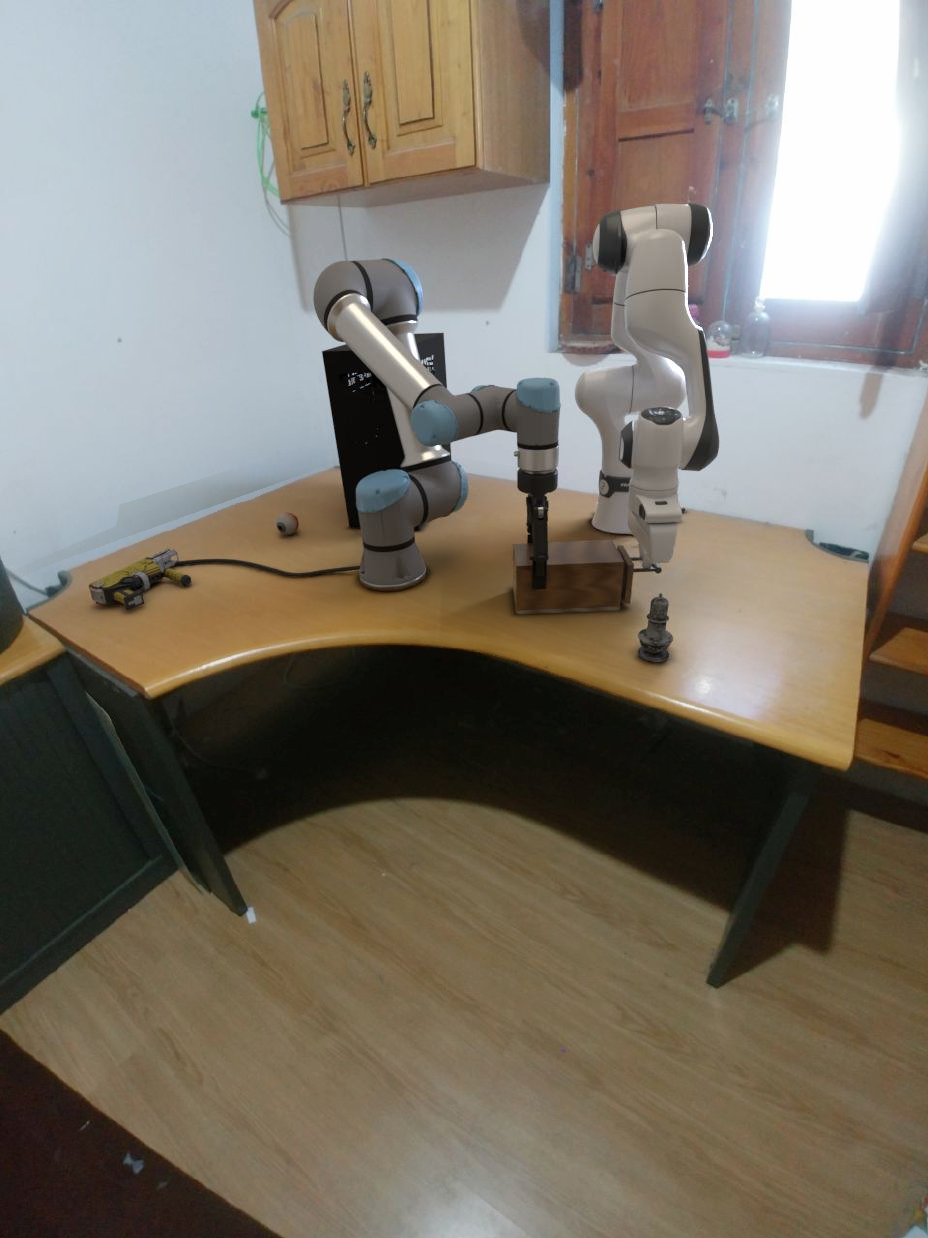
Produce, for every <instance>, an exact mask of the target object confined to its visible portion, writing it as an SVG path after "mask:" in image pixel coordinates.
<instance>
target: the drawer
mask: <svg viewBox="0 0 928 1238" xmlns="http://www.w3.org/2000/svg"><path fill="white" fill-rule="evenodd" d="M616 548H617V549H618V551H619V553H620V555H621V557H622V559H623V561H624V566H623V567H624V568H623V579H622V589H621V600H622V602H623V604H624V605H630V604H631V601H632V590H633V581H634V579H633V578H634V573H653V572H654V573H656V574H660V573H662V571H663V568H662V567H661V566H660V564H653V563H652V567H651V568H643V567H639V568H637V567H636V568H635V563H634V562H639V556H633V557H632V556H630V554H629V552H628V551H627V550H626V548H625V545H623V544H619V545H617V546H616Z"/></svg>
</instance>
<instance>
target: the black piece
mask: <svg viewBox="0 0 928 1238" xmlns="http://www.w3.org/2000/svg"><path fill="white" fill-rule="evenodd" d="M414 337H415V341H416V345H417V349H418V353H419V357H420V361H421V362H422V364H423V365H424V366H425V367H426V368H427V369H428V370H429V371H430V372H431V373H432V374H433V375H434V377H435V378H436V379H437V380H438V381H439V382H440V383H441V384H442V385H443V386H444V387H445V388H447V389H448V381H447V366H446V365H447V364H446V350H445V333H444V332H426V333H414ZM321 355H322V361H323V367H324V375H325V380H326V386H327V393H328V399H329V405H330V412H331V419H332V425H333V431H334V437H335V445H336V451H337V457H338V464H339V470H340V477H341V483H342V490H343V496H344V502H345V509H346V514H347V522H348V528H349V529H361V528H360V521H359V514H358V509H357V506H356V487H357V485H358V483H359V482H360V481H361V480H362V479H363V478H365V477H366V476H368V475H370V474H373V473H376V472H379V471H387V470H391V469H397V470H401V464H402V462H403V460H404V457H405V455H404V451H403V448H402V444H401V440H400V436H399V433H398V429H397V425H396V421H395V417H394V414H393V410H392V406H391V402H390V399H389V395H388V391H387V387H386V386H385V385H384V384H383V383H382V381H381V380H380V379H379V378H378V377H377V376H376V375H375V374H374V373H373V372H372V371H371V370H370V369H369V368H368V367H367V366H366V364H365V363H364V362H363V361H362V360H361V359H360V358H359V357H358V356H357V355H356V354H355V353H354V352H353V351H352V350H351V349H350V347H349V346H348V345H347V344H346V343H345V344H342V345H338V346H335V347H332V348H328V349H324V350H322V351H321ZM451 444H452V443H449V444H446V445H441V447H442V448H443V449H444V450H446V451H448V452H449V453H450V455H451V456H452V447H451V446H452V445H451ZM425 524H426V523H424V524H421V525H418V526H416V527H414V531H416V532H417V531H418V532H419V531H421V529H422V528H423V527H424V526H425Z"/></svg>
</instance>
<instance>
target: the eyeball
mask: <svg viewBox="0 0 928 1238" xmlns="http://www.w3.org/2000/svg"><path fill="white" fill-rule="evenodd" d="M299 525H300V522H299V519H298V517H297V516H296V515H295V514H294V513H292V512H287V511H286V512H282V513H280V514H279V515H278V516H277V517H276V520H275V527H276V529H277V530H278V531H279V532H280V533H281V534H282V535H285V536H286V535H287V536H289V535H293V534H295V533H296V532H297V531H298V529H299Z"/></svg>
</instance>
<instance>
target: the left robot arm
mask: <svg viewBox="0 0 928 1238" xmlns="http://www.w3.org/2000/svg"><path fill="white" fill-rule="evenodd" d="M312 296H313V297H312V299H313V309H314V311H315V314H316V317H317V319H318V321H319V323H320V325H321V326H322V327H323V328H324V330H325V331H326V332H327V333H328V334H329V335H330V336H331V337H332V338H333V339H334V340H335V341H337V342H340V343H345V344H347V345H348V346H349V347H350V349H351V350H352V351H353V352H354V353H355V354H356V355H357V356H358V357H359V358H360V359H361V360H362V361H363V362H364V363H365V364H366V366H367V367H368V368H369V369H370V370H371V371H372V372H373V373H374V374H375V375H376V376H377V377H378V378H379V379H380V380H381V381H382V383H383V384H384V385H385V386H386V387H387V391H388V395H389V399H390V402H391V406H392V410H393V414H394V417H395V421H396V425H397V429H398V433H399V436H400V440H401V444H402V448H403V451H404V455H405V457H404V460H403V462H402V464H401V470H397V469H391V470H387V471H379V472H376V473H373V474H370V475H368V476H366V477H365V478H363V479H362V480H361V481H360V482H359V483H358V485H357V487H356V506H357V509H358V514H359V521H360V528H359V529H360V534H361V540H362V553H361V559H360V564H359V565H351V566H343V567H342V566H341V567H333V568H327V569H319V570H313V571H305V572H291V571H285V570H281V569H278V568H276V567H275V568H274V567H271V566H267V565H263V564H260V563H256V562H251V561H247V560H241V559H233V558H231V559H230V558H201V559H200V558H198V559H188V560H179V561H177V560H176V561H177V562H175V565H174V566H185V565H194V564H210V563H212V564H213V563H219V564H220V563H221V564H223V563H224V564H235V565H243V566H246V567H247V566H248V567H252V568H256V569H259V570H264V571H268V572H271V573H275V574H279V575H281V576H285V577H291V578H304V577H312V576H318V575H319V576H320V575H324V574H333V573H341V572H349V571H351V572H352V571H358V575H359V582H360V584H361V585H362V586H363V587H365V588H367V589H370V590H372V591H378V592H396V591H402V590H406V589H409V588H412V587H415V586H417V585H418V584H420V583H421V582H422V581H424V579H425V578H426V577H427V566H426V563H425V561H424V558H423V557H422V554H421V552H420V550H419V547H418V545H417V544H416V535H415V530H414V527H416V526H418V525H421V524H424V523H425V524H427V523H429V522H432V521H434V520H437V519H440V518H445V517H448V516H450V515H451V514H453V513H456V512H458V511H459V510H460V509H462V508H463V507H464V505H465V502H466V500H468V495H469V480H468V476H467V473H466V471H465V469H464V468H462V465H461V464H460V463H459V462H458V461H454V460H453V459H452V454H451V455H450V453H449V452H448V451H446V450H444V449H443V448H442V447H441V445H446V444H449V443H450V444H452V443H454V442H458V441H460V440H464V439H467V438H472V437H476V436H479V435H483V434H488V433H490V432H495V431H505V432H510V433H515V434H516V447H517V450H515V451H514V452H513V456H514V457H517V460H516V461H517V468H518V470H517V471H516V481H517V482H516V485H517V486H516V487H517V489H518V491H519V492H521V493H523V494H527V496H526V497H525V504H526V522H525V525H526V532H527V535H526V543H533V557H530V560H532V590H535V589H546V580H547V560H548V558H549V556H548V542H549V535H548V534H549V532H548V531H549V528H548V523H549V522H548V521H549V507H550V506H549V505H550V503H549V500H548V496H547V494H549V493H553V492H554V491H556V490H557V489H558V485H559V484H558V483H559V470H558V467H559V457H560V444H559V433H560V432H559V431H560V429H559V428H560V417H561V416H560V414H561V407H562V406H561V394H560V393H561V391H560V384H559V382H558V381H557V380H556V379H554V378H551V377H528V378H524V379H523V378H522V379H521V380H519V381H518V382H517V384H516V388H512V387H505V386H498V385H495V384H488V385H483V384H482V385H481V384H480V385H476V386H475V387H474V388H472V389H471V391H469V392H466V393H460V394H452V392H451V391H450V390H449V389H448V387H447V388H445V387H444V386H443V385H442V384H441V383H440V382H439V381H438V380H437V379H436V378H435V376H434V375H433V374H432V373H431V372H430V371H431V370H430V371H429V368H428V369H427V368H426V367H425V366H424V365H423V362H422V361H420V357H419V353H418V349H417V345H416V341H415V337H414V334H415V332H416V330H417V328H418V327H419V320H418V317H420V315H421V312H422V310H423V307H424V306H423V302H424V292H423V287H422V284H421V281H420V278H419V276H418V274H417V273H416V271H415V270H414V269H413V267H412V266H411V265H409V264H408V263H406V262H405V261H403V260H401V259H393V258H388V257H387V258H385V257H384V258H383V257H382V258H380V259H362V260H338V261H336V262H333V263H331V264H329V265H327V266H326V267H325V268H324V269H323V270H322V271H321V272H320V274H319V276H318V277H317V279H316V281H315V284H314V288H313V295H312ZM425 524H424V525H425Z"/></svg>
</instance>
